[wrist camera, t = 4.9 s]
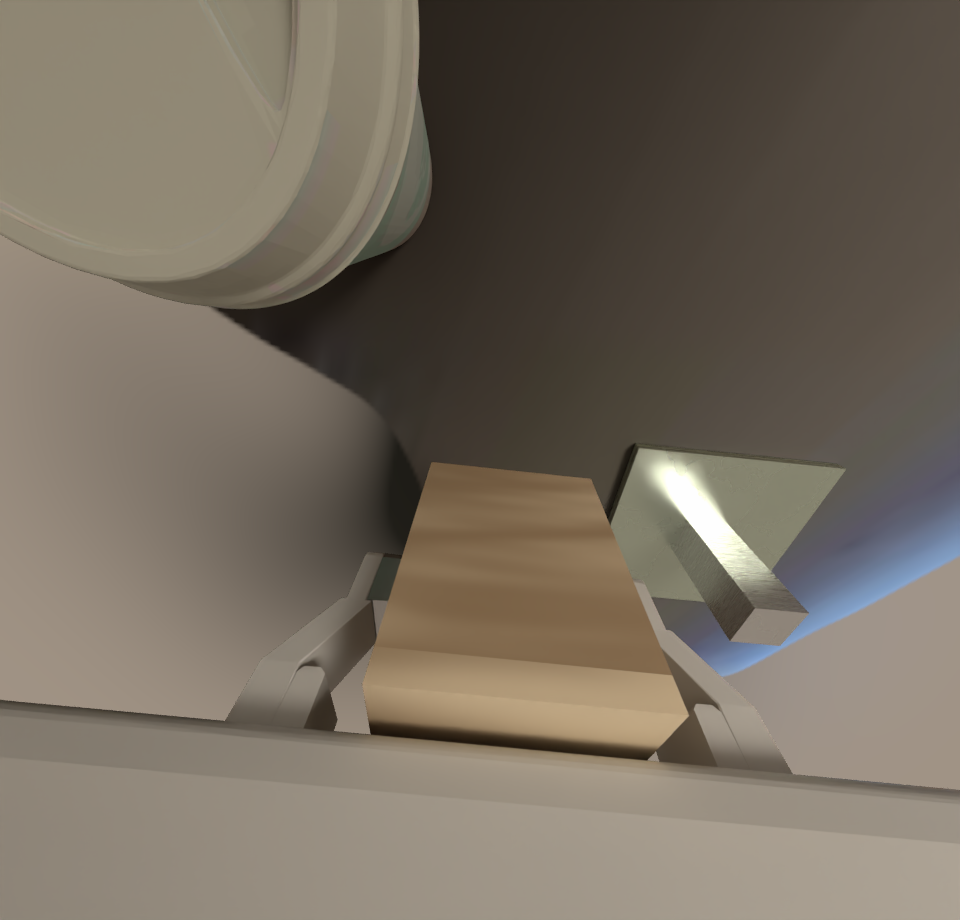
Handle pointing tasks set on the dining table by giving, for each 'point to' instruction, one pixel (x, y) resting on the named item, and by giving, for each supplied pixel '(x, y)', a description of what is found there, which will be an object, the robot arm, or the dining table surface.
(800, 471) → the post
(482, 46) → the dining table surface
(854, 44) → the dining table surface
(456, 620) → the wood grain block
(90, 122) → the coffee cup
